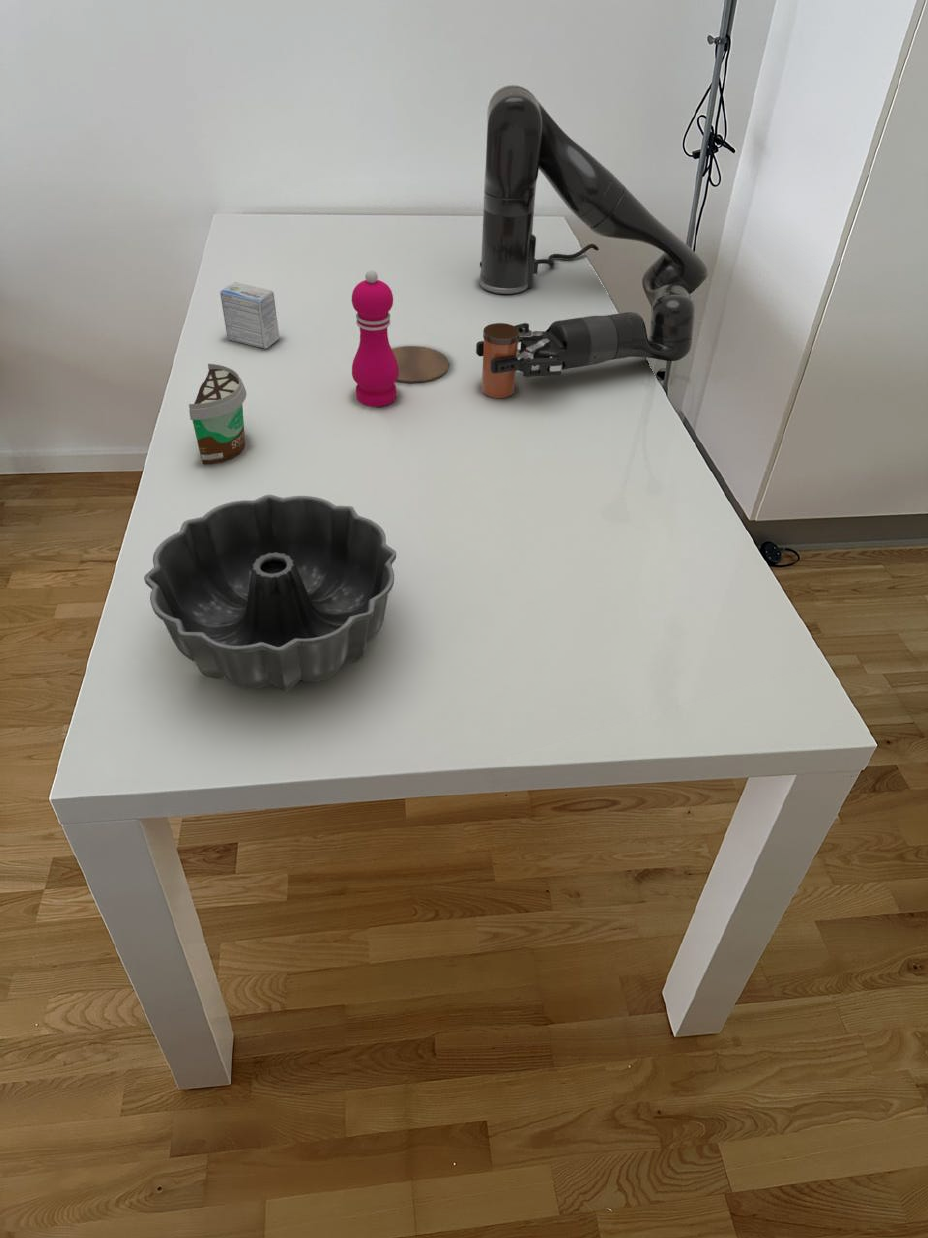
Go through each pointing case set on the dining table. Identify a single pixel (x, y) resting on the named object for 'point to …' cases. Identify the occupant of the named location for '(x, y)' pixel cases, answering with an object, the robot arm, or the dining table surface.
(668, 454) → the dining table surface
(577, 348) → the robot arm
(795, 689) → the dining table surface
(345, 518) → the bundt pan
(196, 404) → the food container
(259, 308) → the medicine box
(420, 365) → the cork coaster
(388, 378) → the pepper mill
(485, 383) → the spice jar
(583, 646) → the dining table surface
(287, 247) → the dining table surface
